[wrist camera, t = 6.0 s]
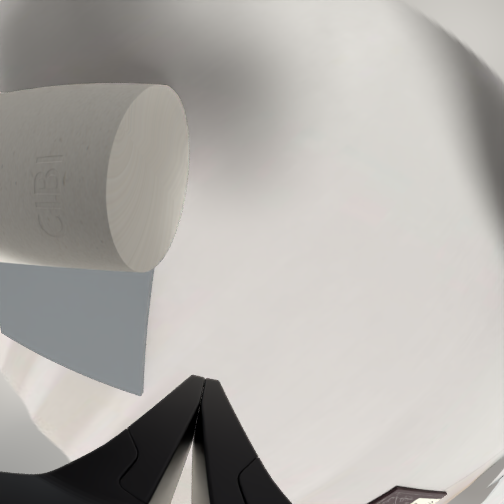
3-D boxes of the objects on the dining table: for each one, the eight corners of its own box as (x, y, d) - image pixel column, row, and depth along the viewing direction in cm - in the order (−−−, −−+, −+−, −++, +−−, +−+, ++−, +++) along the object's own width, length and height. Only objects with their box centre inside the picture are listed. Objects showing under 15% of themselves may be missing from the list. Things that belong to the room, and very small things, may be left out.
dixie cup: (194, 252, 13) (46, 228, 14) (208, 70, 10) (44, 92, 11) (103, 382, 6) (-54, 293, 6) (86, -7, 2) (-77, 102, 3)
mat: (182, 130, 13) (179, 129, 12) (143, 391, 16) (141, 396, 16) (12, 119, 12) (8, 118, 12) (4, 330, 15) (1, 333, 15)
